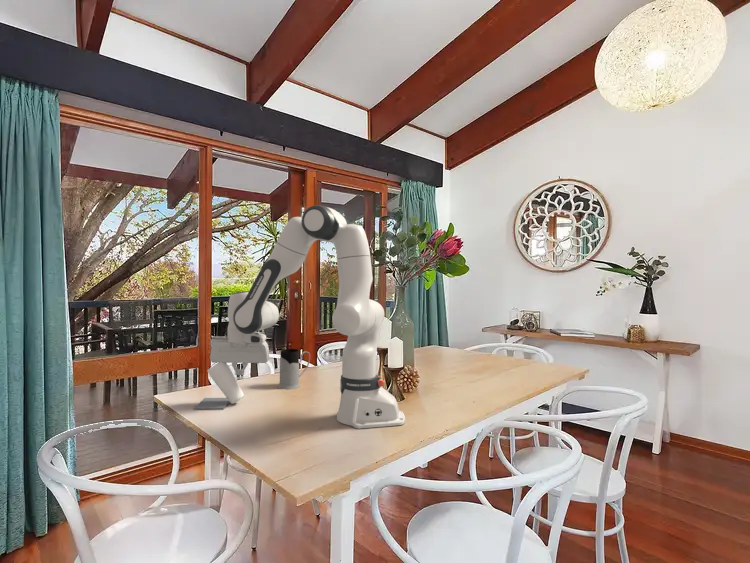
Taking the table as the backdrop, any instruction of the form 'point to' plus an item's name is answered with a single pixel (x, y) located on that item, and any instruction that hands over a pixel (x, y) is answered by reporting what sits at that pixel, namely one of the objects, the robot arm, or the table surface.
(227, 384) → the drinking glass
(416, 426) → the table surface
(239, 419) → the table surface
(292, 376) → the grey mug
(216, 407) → the mat
